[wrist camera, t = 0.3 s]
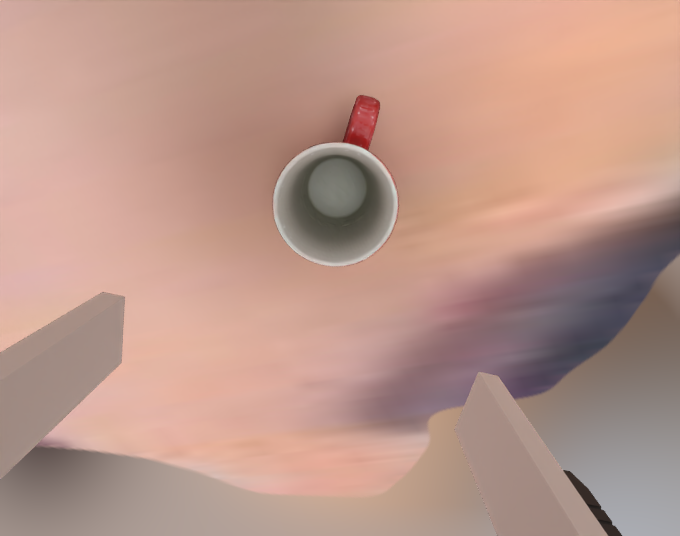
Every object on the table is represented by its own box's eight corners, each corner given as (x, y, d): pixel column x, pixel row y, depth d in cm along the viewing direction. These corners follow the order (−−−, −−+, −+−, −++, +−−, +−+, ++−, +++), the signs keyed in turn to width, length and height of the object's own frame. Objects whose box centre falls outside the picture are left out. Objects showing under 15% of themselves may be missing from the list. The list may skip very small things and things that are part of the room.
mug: (361, 241, 40) (370, 284, 27) (284, 212, 39) (256, 243, 26) (407, 129, 36) (443, 117, 24) (323, 94, 35) (313, 62, 23)
